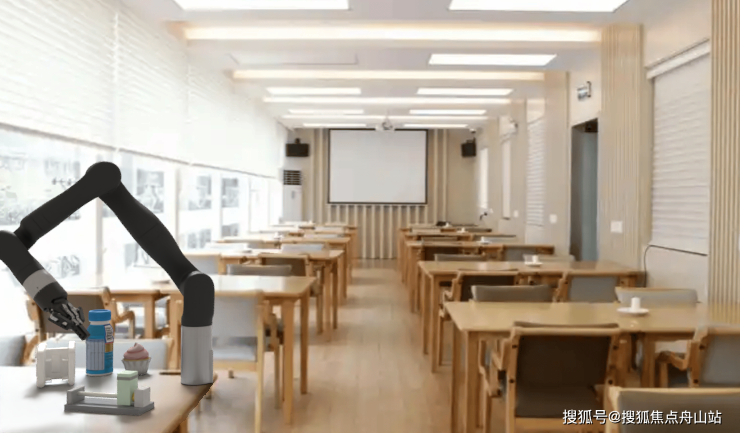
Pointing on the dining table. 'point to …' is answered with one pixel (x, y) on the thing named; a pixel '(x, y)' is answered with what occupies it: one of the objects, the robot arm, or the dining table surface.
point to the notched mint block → (126, 386)
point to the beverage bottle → (99, 344)
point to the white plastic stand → (55, 363)
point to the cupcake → (136, 359)
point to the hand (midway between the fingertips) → (86, 337)
